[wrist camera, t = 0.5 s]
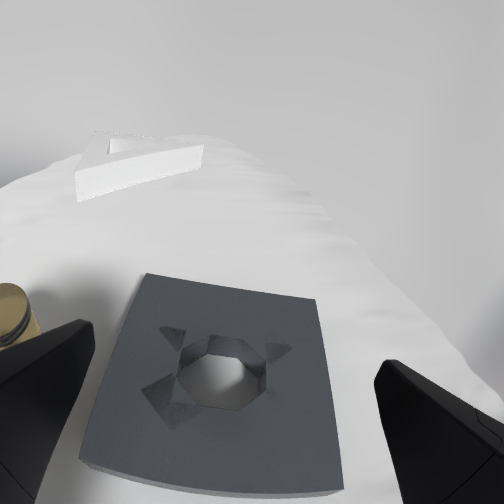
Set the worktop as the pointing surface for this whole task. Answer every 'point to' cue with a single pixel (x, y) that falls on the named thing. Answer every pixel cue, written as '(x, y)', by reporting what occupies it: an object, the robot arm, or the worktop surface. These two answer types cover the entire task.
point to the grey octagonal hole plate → (214, 419)
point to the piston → (15, 317)
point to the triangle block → (131, 162)
